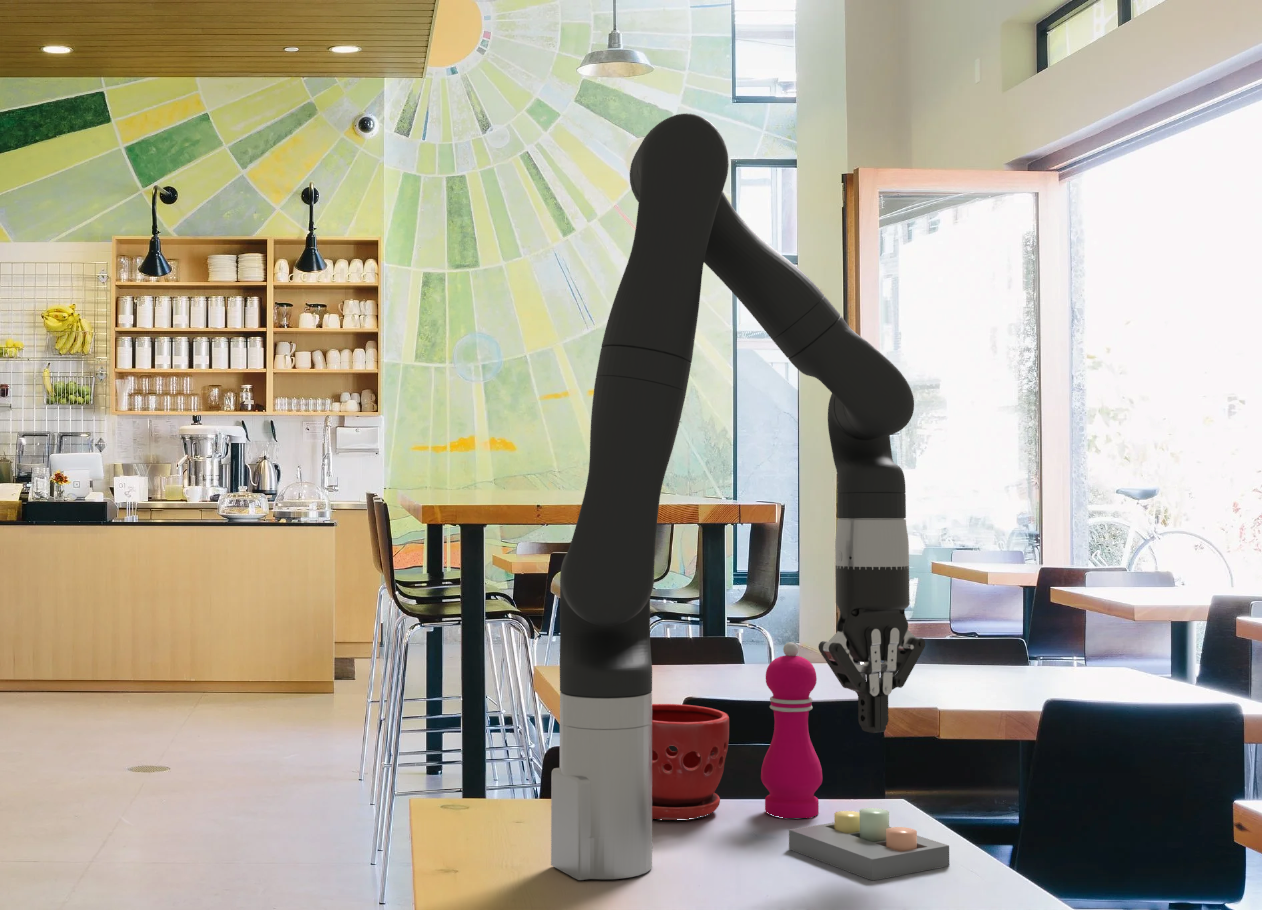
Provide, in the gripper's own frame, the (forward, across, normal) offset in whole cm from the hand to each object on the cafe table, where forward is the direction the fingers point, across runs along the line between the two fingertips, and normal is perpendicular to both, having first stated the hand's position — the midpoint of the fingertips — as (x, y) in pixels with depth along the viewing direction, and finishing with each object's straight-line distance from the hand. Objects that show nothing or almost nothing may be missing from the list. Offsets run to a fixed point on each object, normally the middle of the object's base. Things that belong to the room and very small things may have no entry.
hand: (873, 730), depth 125 cm
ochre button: (+12, 0, +4) cm, 13 cm away
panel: (+13, -1, 0) cm, 13 cm away
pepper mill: (+13, +4, +19) cm, 23 cm away
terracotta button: (+12, 0, -4) cm, 13 cm away
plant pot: (+13, -8, +26) cm, 30 cm away
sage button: (+11, 0, 0) cm, 11 cm away
